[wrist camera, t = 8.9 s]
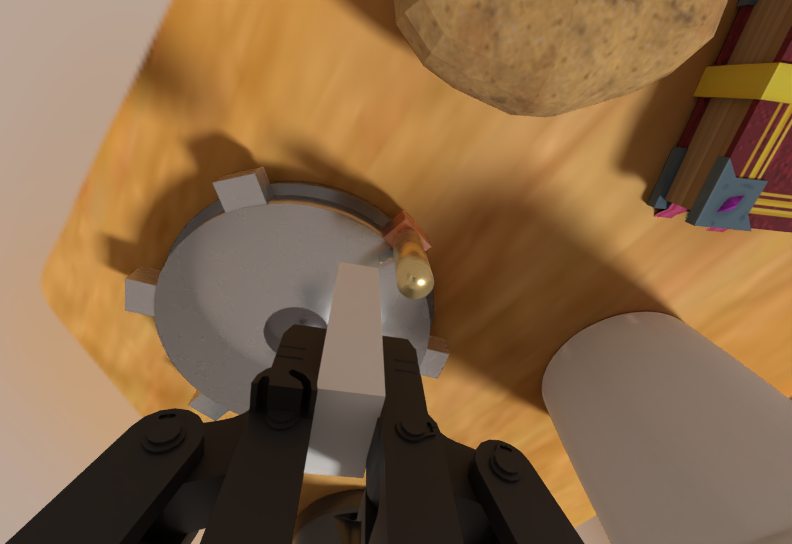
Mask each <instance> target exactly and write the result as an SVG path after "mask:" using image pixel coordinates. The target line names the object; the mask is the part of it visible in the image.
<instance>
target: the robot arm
mask: <svg viewBox="0 0 792 544" xmlns="http://www.w3.org/2000/svg"><path fill="white" fill-rule="evenodd" d="M365 469H366V487H365V489H357V490H348V491H342V492H338V493H334V494H331V495H328V496H325V497H323V498H321V499H319V500H317V501H315V502H313V503H312V504H310V505H309V506H308V507H307V508H305V509H304V510H303V511H302V513H301V514H300V515H299V517H298V518H297V521H296V516H297V510H298V504H299V499H300V493H301V487H302V481H303V475H304V473H308V474H320V475H332V476H345V477H357V478H363V477H364V473H365ZM295 522H296V524H295ZM204 528H206V529H205V532H204V534H203V537H202V540H201V542H200V544H584V542H583V541H582V539H581V538H580V536H579V535H578V533H577V532H576V530H575V529H574V527H573V526H572V524H571V523H570V521H569V520H568V518H567V517H566V515H565V514H564V512H563V511H562V509H561V508H560V506H559V505H558V503H557V502H556V500H555V499H554V497H553V496H552V494H551V493H550V491H549V490H548V488H547V487H546V485H545V484H544V482H543V481H542V479H541V478H540V476H539V475H538V474H537V472H536V471H535V469H534V468H533V466H532V465H531V463H530V462H529V460H528V459H527V458H526V457H525V456H524V455H523V454H522V452H520V451H519V450H517V449H516V448H515V447H513V446H512V445H510V444H508V443H505V442H502V441H500V440H487V441H485V442H482V443H481V444H480V445H479V446H478V448H477V449H476V450H475V449H473V448H470V447H468V446H465V445H463V444H460V443H457V442H455V441H453V440H451V439H449V438H447V437H446V436H445V435H443V434H442V433H440V430H439V428H438V426H437V423H436V422H435V421H434V420H433V419H432V418H431V417H430V416H429V415H428V412H427V406H426V401H425V395H424V390H423V385H422V379H421V375H420V368H419V365H418V358H417V352H416V349H415V348H414V347H413V345H412V344H411V343H410V341H409V340H408V339H403V338H396V337H389V336H382V322H381V304H380V285H379V268H374V267H368V266H362V265H356V264H350V263H345V262H339V266H338V271H337V277H336V282H335V288H334V293H333V299H332V304H331V310H330V315H329V321H328V326H327V329H325V328H318V327H311V326H304V325H297V324H294V325H293V326H291V327H290V328H289V329H288V330H287V331H286V332H284V333H283V336H282V339H281V342H280V344H279V347H278V350H277V353H276V356H275V358H274V361H273V364H272V367H270V368H267V369H265V370H264V371H262V372H260V373H259V374H257V375H256V377H255V378H254V380H253V381H252V382H251V392H250V407H249V410H248V411H246V412H245V413H243V414H241V415H238V416H236V417H233V418H229V419H225V420H220V421H213V422H207V423H203V422H202V420H201V418H200V417H199V416H198V415H197V414H195V413H193V412H191V411H189V410H183V409H176V408H175V409H168V410H161V411H158V412H155V413H153V414H150V415H148V416H145V417H144V418H142V419H141V420H139V421H138V422H137V423H135V424H134V425H132V426H131V427H130V428H129V429H128V430H127V431H126V432H125V433H124V434H123V435H121V436H120V437H119V438H118V439H117V440H116V441H115V442H114V443H113V444H112V445H111V446H110V447H109V448H108V449H106V450H105V451H104V452H103V453H102V454H101V455H100V456H99V457H98V458H97V459H96V460H95V461H94V462H93V463H91V464H90V466H88V467H87V468H86V469H85V470H84V471H83V472H82V473H81V474H80V475H78V476H77V477H76V478H75V479H74V480H73V481H72V482H71V483H70V484H69V485H68V486H67V487H66V488H65V489H63V490H62V491H61V492H60V493H59V494H58V495H57V496H56V497H55V498H54V499H53V500H52V501H51V502H49V503H48V504H47V505H46V506H45V507H44V508H43V509H42V510H41V511H40V512H39V513H38V514H37V515H36V516H34V517H33V518H32V519H31V520H30V521H29V522H28V523H27V524H26V525H25V526H24V527H23V528H22V529H20V530H19V531H18V532H17V533H16V534H15V535H14V536H13V537H12V538H11V539H10V540H9V541H7V542H6V543H5V544H191V542H192V541H193V539H194V538H195V536H196V535H197V533H198V531H199V530H200V529H204ZM294 528H295V529H294Z"/></svg>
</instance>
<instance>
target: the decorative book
mask: <svg viewBox="0 0 792 544" xmlns="http://www.w3.org/2000/svg"><path fill="white" fill-rule="evenodd" d="M738 6H742V7H741V9H740V11H739V13H738V15H737V18H736V20H735V22H734V24H733V26H732V29H731V31H730V33H729V35H728V37H727V40H726V42H725V44H724V46H723V48H722V51H721V53H720V55H719V57H718V59H717V62H716V64H715V66H706V69H705V71H704V73H703V75H702V77H701V80H700V82H699V84H698V86H697V89H696V91H695V93H694V95H693V96H695V97H700V99H699V101H698V103H697V105H696V108H695V110H694V112H693V114H692V116H691V119H690V121H689V123H688V125H687V127H686V130H685V132H684V134H683V136H682V138H681V141H680V143H679V145H678V147H675V146H674V147H673V149H672V151H671V153H670V156H669V158H668V160H667V162H666V164H665V166H664V169H663V171H662V173H661V175H660V177H659V179H658V182H657V184H656V186H655V188H654V190H653V192H652V195H651V197H650V199H649V201H648V203H647V205H649V206H651V207H653V208H661V209H667V210H664V211H662V212H659V213H657V214H656V215H655V216H657V217H666V218H672V217H674V216H675V215H677V214H680V213H683V212H685V211H689V212H690V213H689V215H688V217H685V218H686V220H685V222H687V223H690V224H692V225H694V226H704V227H710V228H708V229H707V231H716V232H724V231H726V230H728V229H734V230H744V231H751V228H755V229H765V230H774V231H783V232H792V0H739V2H738V5H737V7H738Z"/></svg>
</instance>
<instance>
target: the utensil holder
mask: <svg viewBox="0 0 792 544" xmlns="http://www.w3.org/2000/svg"><path fill="white" fill-rule="evenodd" d="M542 396H543V400H544V403H545V405H546V408H547V410H548V413H549V415H550V417H551V419H552V421H553V424H554V426H555V428H556V430H557V433H558V435H559V437H560V439H561V441H562V444H563V446H564V448H565V450H566V452H567V454H568V456H569V458H570V461H571V463H572V465H573V467H574V469H575V471H576V473H577V475H578V477H579V479H580V481H581V483H582V486H583V488H584V490H585V492H586V494H587V496H588V498H589V500H590V502H591V504H592V506H593V508H594V510H595V512H596V514H597V516H598V518H599V520H600V522H601V524H602V526H603V528H604V530H605V532H606V534H607V536H608V538H609V540H610V543H611V544H792V401H791V400H790V399H788V398H787V397H786V396H784V395H783V394H782V393H781V392H779V391H778V390H777V389H775V388H774V387H773V386H771V385H770V384H769V383H767V382H766V381H765V380H763V379H762V378H761V377H759V376H758V375H757V374H755V373H754V372H753V371H751V370H750V369H749V368H747V367H746V366H744V365H743V364H742V363H740V362H739V361H738V360H736V359H735V358H734V357H732V356H731V355H729V354H728V353H727V352H725V351H724V350H722V349H721V348H720V347H718V346H717V345H715V344H714V343H713V342H711V341H710V340H708V339H707V338H706V337H704V336H703V335H701V334H700V333H699V332H697V331H696V330H694V329H693V328H692V327H690V326H689V325H687V324H686V323H684V322H683V321H681V320H679V319H678V318H676V317H673V316H670V315H667V314H663V313H658V312H633V313H626V314H621V315H616V316H613V317H610V318H607V319H604V320H602V321H599V322H597V323H595V324H593V325H591V326H589V327H587V328H585V329H583V330H582V331H580V332H579V333H577V334H576V335H574V336H573V337H572V338H570V339H569V340H568V341H567V342H566V343H565V344H564V345H563V346H562V347H561V348H560V349H559V350H558V351H557V353H556V354H555V355H554V356H553V358H552V359H551V361H550V362H549V364H548V366H547V368H546V370H545V373H544V376H543V380H542Z"/></svg>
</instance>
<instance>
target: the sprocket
mask: <svg viewBox="0 0 792 544" xmlns="http://www.w3.org/2000/svg"><path fill="white" fill-rule="evenodd" d="M213 186H214V188H215V190H216V192H217V195H218V197H219V199H220V201H221V204H222V206H223V208H224V210H222V211H220V212H219V213H217V214H216V215H214V216H213V217H211V218H210V219H208V220H207V221H205V222H204V223H203V224H202V225H200V226H199V227H198V228H197V229H196V230H194V231H193V232H192V233H191V234H190V235H189V236H187V237H186V238H185V239H184V240H183V241H182V242H181V243H180V244H179V245H178V246H177V247H176V249H175V250H174V251H173V252H172V254H171V255H170V256H169V257H168V259H167V261H166V263H165V265H164V267H163V269H162V270H159V269H155V268H151V267H147V266H143V265H142V266H141V267H139V268H138V269H137V270H135V271H134V272H133V273H132V274H130V275H129V276H128V277H127V278H125V310H126V311H130V312H135V313H139V314H144V315H148V316H153V317H154V318H155V323H156V327H157V332H158V335H159V338H160V340H161V343H162V345H163V348H164V349H165V351H166V353H167V355H168V357H169V358H170V360H171V362H172V363H173V364H174V366H175V367H176V368H177V370H178V371H179V372H180V373H181V375H182V376H183V377H184V378H185V379H186V380H187V381H188V382H189V383H190V384H191V385H192V386H193V387H195V388H196V389H197V391H196V392H195V394H194V396H193V398H192V399H191V401H190V403H189V404H188V405H189V406H191V407H192V408H194V409H196V410H197V411H199V412H201V413H203V414H204V415H206V416H208V417H210V418H211V419H213V420H215V421H216V420H217V419H219V418H220V417H221V416H222V415H224V414H225V413H226V412H227V411H229V410H230V411H232V412H235V413H237V414H239V415H241V414H243V413H245V412H246V411H248V410H249V407H250V392H251V382H252V381H253V380H254V378H255V377H256V375H257V374H259V373H260V372H262V371H264V370H265V369H267V368H270V367H272V364H273V361H274V358H275V356H276V353H277V350H278V347H279V344H280V342H281V339H282V336H283V333H284V332H286V331H287V330H288V329H289V328H290V327H291V326H293V325H294V324H297V325H304V326H311V327H318V328H325V329H327V326H328V321H329V315H330V310H331V304H332V299H333V293H334V288H335V282H336V277H337V271H338V266H339V262H345V263H350V264H356V265H362V266H368V267H374V268H379V285H380V304H381V322H382V336H389V337H396V338H403V339H408V340H409V341H410V343H411V344H412V345H413V347H414V348H415V349H416V352H417V358H418V365H419V368H420V375H423V376H428V377H432V378H437V379H438V377H439V375H440V373H441V371H442V369H443V367H444V365H445V363H446V361H447V359H448V357H449V355H450V354H449V350H448V346H447V343H446V339H444V338H440V337H436V336H432V335H430V316H429V308H428V304H427V300H426V295H428V294H429V293H430V292H431V290H432V289H433V286H434V277H433V274H432V271H431V267H430V264H429V261H428V258H427V254H426V251H427V250H428V249H429V248H430V247H431V245H430V242H429V239H428V236H427V235H426V234H425V233H424V232H423V231H422V229H421V228H420V227H419V226H418V225H417V224H416V223H415V222H414V221H413V220H412V219H411V217H410V216H409V215H408V214H407V213H406V212H405V211H404V210H402V211H401V212H400V213H399V214H398V215H397V216H395V217H394V218H393V219H392V220H391V221H390V222H388V223H387V224H386V225H385V226H384V227H381V226H380V225H378V224H377V223H376V222H374V221H373V220H371V219H370V218H368V217H367V216H365V215H363V214H361V213H359V212H357V211H355V210H353V209H351V208H348V207H346V206H343V205H340V204H338V203H335V202H332V201H328V200H323V199H319V198H315V197H307V196H298V195H275V196H274V193H273V190H272V187H271V185H270V182H269V179H268V177H267V174H266V171H265V168H264V167H260V168H255V169H251V170H246V171H242V172H237V173H233V174H228V175H224V176H222V177H221V178H219V179H218V180H216V181H214V182H213Z"/></svg>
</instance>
